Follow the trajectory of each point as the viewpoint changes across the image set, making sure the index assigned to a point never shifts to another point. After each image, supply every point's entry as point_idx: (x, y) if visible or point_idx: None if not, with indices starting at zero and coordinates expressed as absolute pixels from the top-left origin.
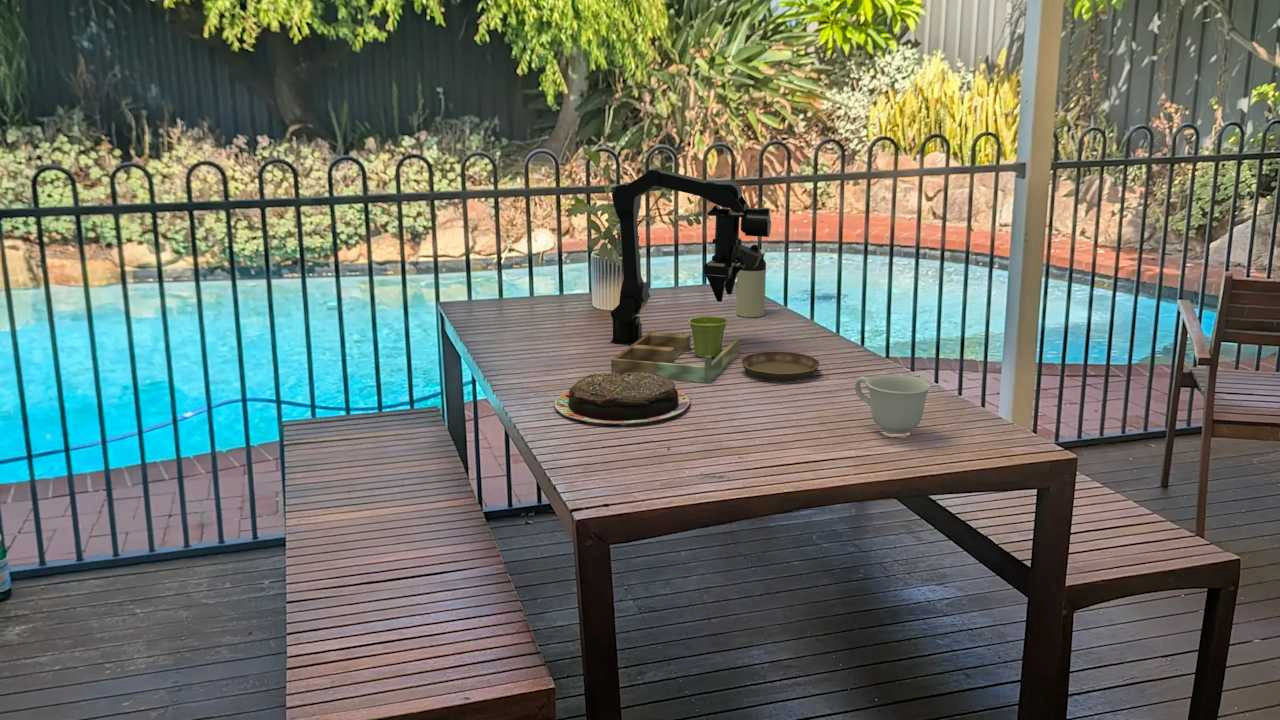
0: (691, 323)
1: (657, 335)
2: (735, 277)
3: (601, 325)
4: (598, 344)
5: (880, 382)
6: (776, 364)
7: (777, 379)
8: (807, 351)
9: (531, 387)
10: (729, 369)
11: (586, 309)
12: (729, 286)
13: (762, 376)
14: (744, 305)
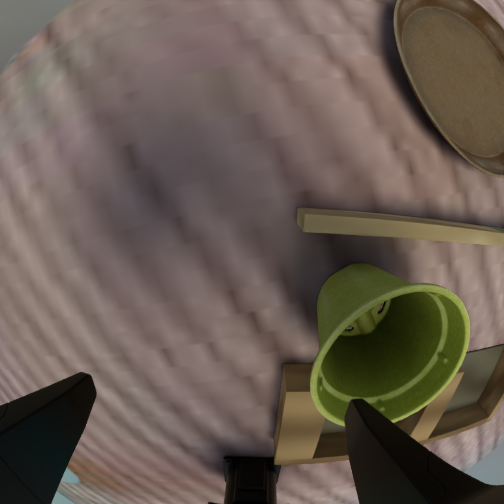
0: (431, 400)
1: (313, 447)
2: (4, 429)
3: (156, 491)
4: (288, 487)
5: None
6: (424, 77)
7: None
8: (216, 7)
9: (497, 436)
10: (474, 208)
11: (88, 489)
12: (66, 417)
13: None
14: None
